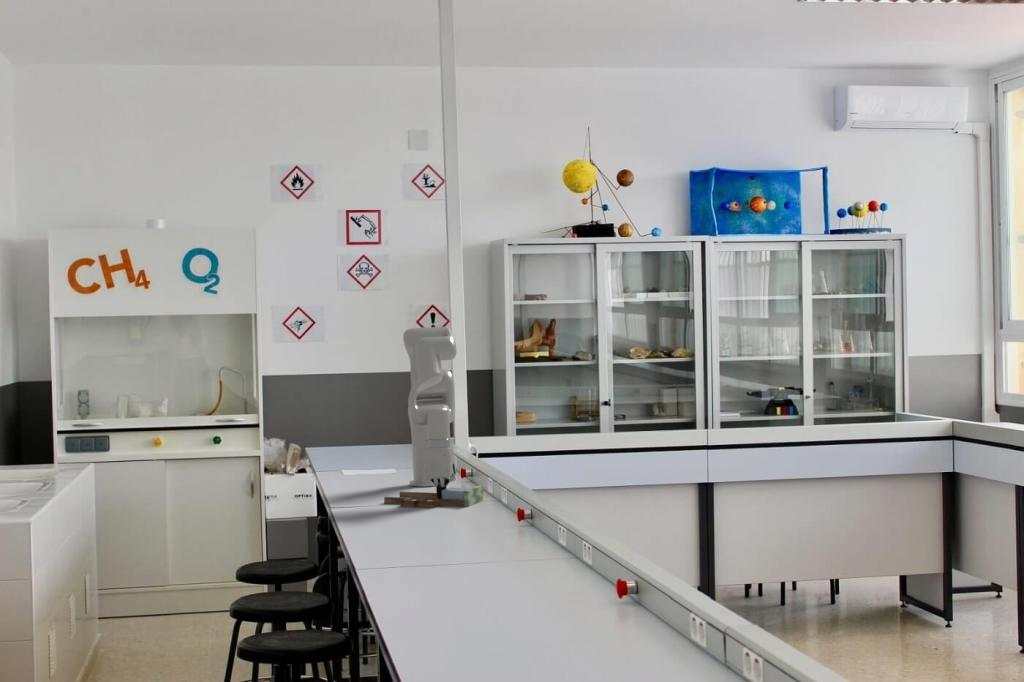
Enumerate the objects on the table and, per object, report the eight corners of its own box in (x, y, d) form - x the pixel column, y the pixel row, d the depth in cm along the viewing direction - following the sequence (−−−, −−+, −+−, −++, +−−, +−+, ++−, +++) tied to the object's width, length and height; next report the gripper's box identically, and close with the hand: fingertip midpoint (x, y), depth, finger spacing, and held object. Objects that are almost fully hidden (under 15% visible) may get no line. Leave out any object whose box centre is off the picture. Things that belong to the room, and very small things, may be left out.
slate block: (451, 502, 372) (451, 487, 372) (472, 503, 368) (471, 488, 368) (442, 505, 366) (441, 490, 366) (463, 506, 363) (462, 491, 362)
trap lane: (401, 497, 384) (400, 483, 384) (483, 500, 371) (482, 485, 371) (377, 505, 370) (377, 490, 370) (462, 509, 357) (461, 493, 356)
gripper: (414, 445, 370) (416, 499, 370) (453, 445, 364) (456, 500, 364) (425, 442, 377) (427, 495, 377) (464, 442, 370) (466, 496, 371)
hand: (441, 498), depth 371 cm, fingers closed
